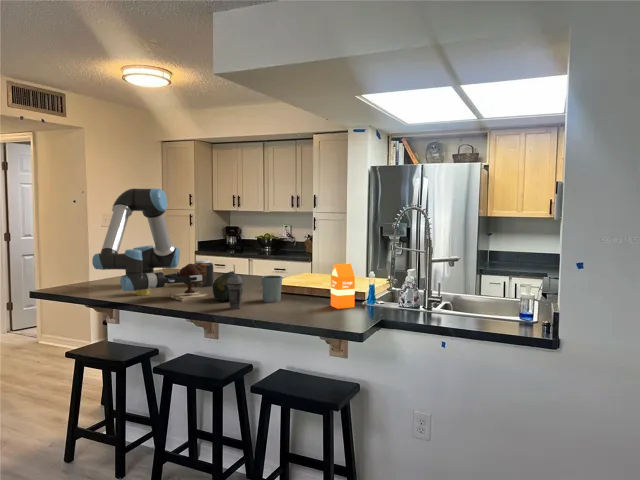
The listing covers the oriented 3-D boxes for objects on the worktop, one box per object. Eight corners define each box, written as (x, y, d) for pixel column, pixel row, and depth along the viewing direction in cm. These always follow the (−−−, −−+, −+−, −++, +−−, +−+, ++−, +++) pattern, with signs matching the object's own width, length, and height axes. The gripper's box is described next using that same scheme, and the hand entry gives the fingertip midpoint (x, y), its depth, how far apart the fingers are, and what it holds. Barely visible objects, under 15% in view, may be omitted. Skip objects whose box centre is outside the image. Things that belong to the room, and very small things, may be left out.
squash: (201, 289, 239) (218, 268, 235) (220, 286, 253) (236, 266, 248) (219, 310, 235) (236, 289, 230) (237, 306, 249) (253, 285, 244)
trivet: (169, 296, 249) (169, 294, 249) (197, 293, 259) (196, 290, 258) (182, 301, 237) (181, 298, 237) (210, 297, 247) (209, 294, 247)
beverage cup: (229, 310, 217) (229, 266, 216) (225, 307, 224) (224, 264, 222) (245, 308, 221) (245, 265, 219) (240, 305, 227) (240, 263, 226)
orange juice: (330, 305, 229) (330, 263, 227) (347, 304, 232) (347, 262, 231) (337, 308, 222) (337, 265, 220) (354, 307, 225) (355, 264, 224)
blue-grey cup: (257, 300, 240) (257, 276, 239) (273, 297, 247) (272, 274, 246) (271, 303, 233) (271, 278, 232) (286, 300, 240) (286, 276, 239)
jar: (210, 287, 279) (210, 261, 278) (190, 287, 279) (190, 261, 278) (215, 283, 290) (215, 259, 289) (196, 283, 291) (195, 258, 290)
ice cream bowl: (203, 290, 253) (203, 262, 252) (195, 294, 242) (195, 264, 241) (183, 290, 254) (183, 262, 253) (175, 294, 243) (174, 264, 242)
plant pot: (127, 295, 252) (127, 277, 252) (142, 292, 262) (141, 274, 261) (143, 297, 248) (143, 278, 248) (157, 293, 258) (157, 275, 257)
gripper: (146, 285, 245) (187, 280, 259) (164, 291, 227) (207, 286, 241) (145, 270, 245) (186, 266, 258) (163, 275, 227) (207, 271, 241)
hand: (196, 276), depth 250 cm, fingers closed on ice cream bowl, 11 cm apart
